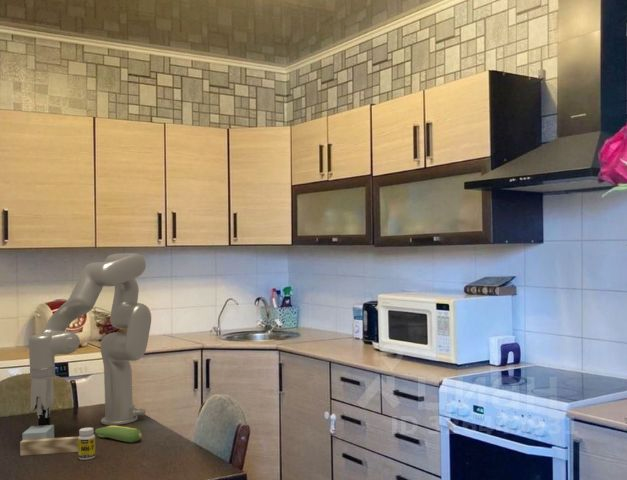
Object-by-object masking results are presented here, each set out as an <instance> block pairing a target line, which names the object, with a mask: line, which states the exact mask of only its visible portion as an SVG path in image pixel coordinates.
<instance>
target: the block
mask: <svg viewBox="0 0 627 480" xmlns="http://www.w3.org/2000/svg"><path fill="white" fill-rule="evenodd" d="M21 435H22V440H31V439H47V438H55V424H50V425H44V426H39V425H31V426H30V427H28V429H26V430H25V431H24V432H22V434H21ZM22 440H21V441H22Z"/></svg>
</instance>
